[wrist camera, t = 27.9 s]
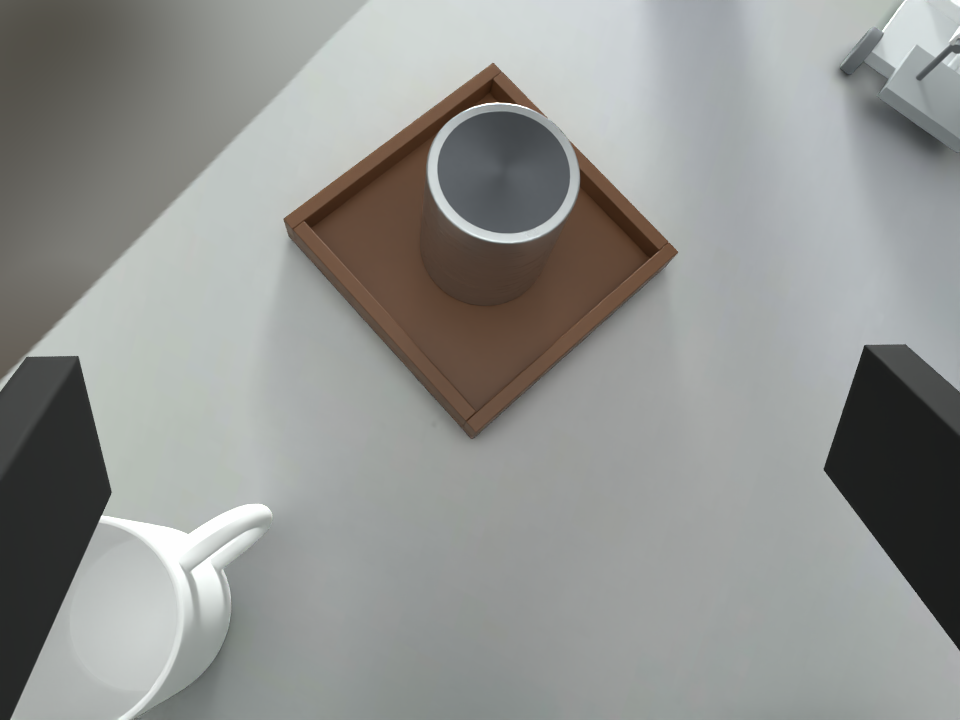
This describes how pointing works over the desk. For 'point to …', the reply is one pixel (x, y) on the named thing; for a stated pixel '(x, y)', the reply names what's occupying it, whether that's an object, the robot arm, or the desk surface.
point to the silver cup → (495, 201)
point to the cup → (139, 617)
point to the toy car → (918, 65)
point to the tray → (448, 321)
